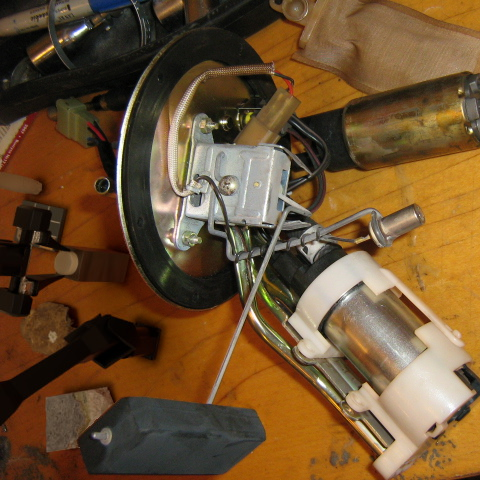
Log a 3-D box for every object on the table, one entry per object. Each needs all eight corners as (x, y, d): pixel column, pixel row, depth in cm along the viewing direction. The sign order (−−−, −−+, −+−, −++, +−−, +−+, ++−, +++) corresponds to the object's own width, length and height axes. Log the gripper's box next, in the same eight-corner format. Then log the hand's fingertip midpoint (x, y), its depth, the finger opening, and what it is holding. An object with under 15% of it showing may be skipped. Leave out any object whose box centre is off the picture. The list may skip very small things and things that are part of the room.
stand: (130, 254, 97) (84, 250, 86) (123, 282, 97) (77, 281, 86) (109, 249, 99) (62, 244, 89) (103, 276, 99) (55, 275, 89)
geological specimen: (40, 398, 96) (90, 388, 90) (67, 393, 101) (115, 383, 95) (43, 453, 93) (94, 446, 88) (70, 444, 99) (120, 437, 93)
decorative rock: (30, 351, 106) (80, 354, 101) (13, 354, 102) (64, 358, 97) (31, 301, 106) (81, 302, 101) (14, 302, 102) (65, 303, 97)
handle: (29, 180, 111) (-39, 164, 97) (48, 176, 109) (-19, 159, 95) (28, 199, 110) (-40, 186, 96) (47, 196, 108) (-20, 182, 94)
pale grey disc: (80, 253, 87) (74, 253, 85) (75, 277, 87) (68, 277, 85) (63, 249, 88) (57, 248, 87) (58, 272, 88) (51, 272, 87)
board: (67, 209, 105) (62, 208, 104) (57, 252, 105) (53, 251, 104) (26, 200, 111) (22, 199, 109) (17, 241, 110) (12, 240, 109)
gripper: (-39, 192, 76) (48, 208, 90) (-65, 303, 75) (27, 301, 90) (4, 202, 71) (88, 217, 86) (-22, 320, 71) (66, 315, 85)
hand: (66, 262), depth 87 cm, fingers closed on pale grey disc, 4 cm apart
